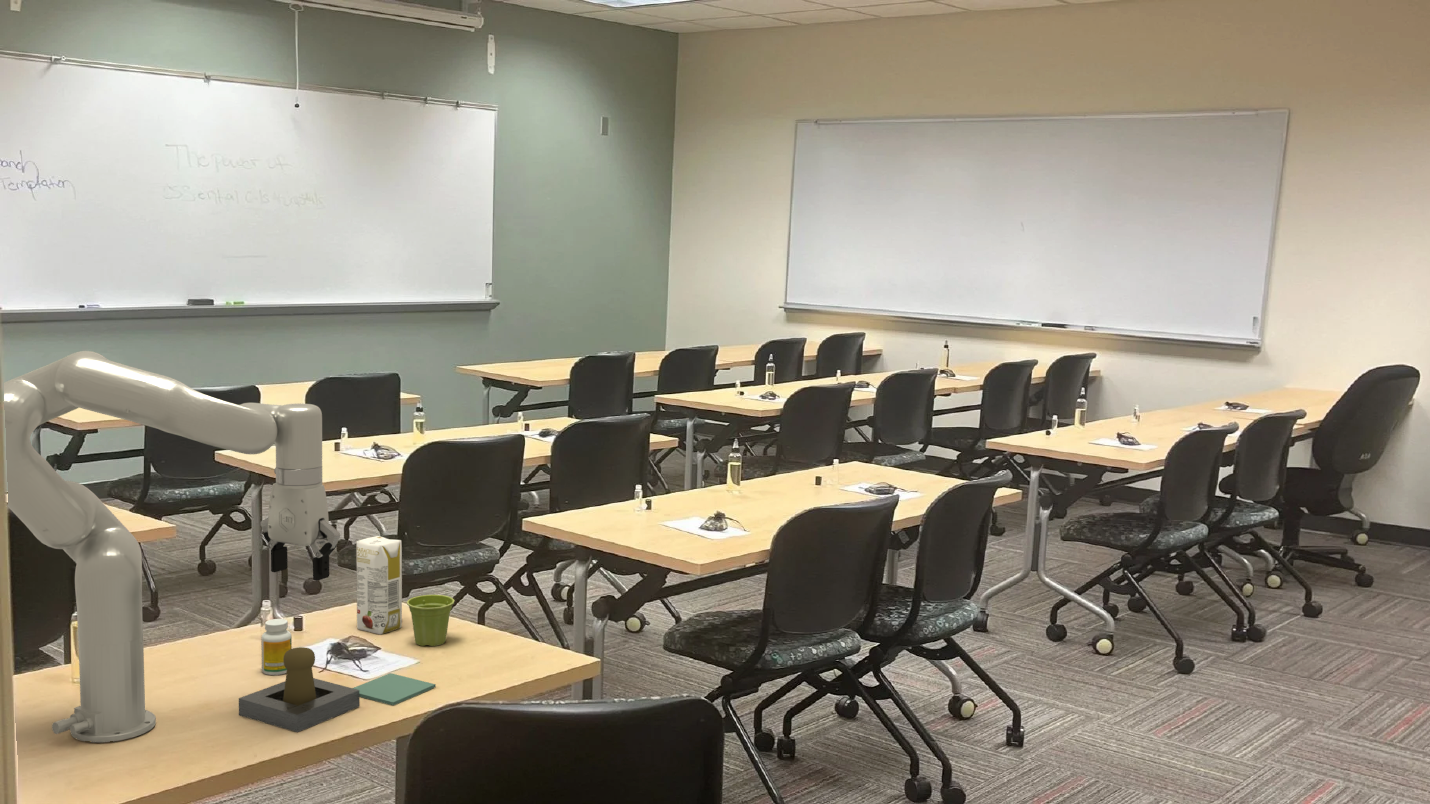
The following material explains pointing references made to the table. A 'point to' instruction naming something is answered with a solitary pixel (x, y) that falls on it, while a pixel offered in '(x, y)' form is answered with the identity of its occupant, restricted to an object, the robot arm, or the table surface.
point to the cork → (299, 676)
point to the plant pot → (430, 618)
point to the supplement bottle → (275, 646)
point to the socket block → (298, 718)
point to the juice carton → (379, 584)
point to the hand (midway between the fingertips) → (300, 574)
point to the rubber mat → (393, 689)
